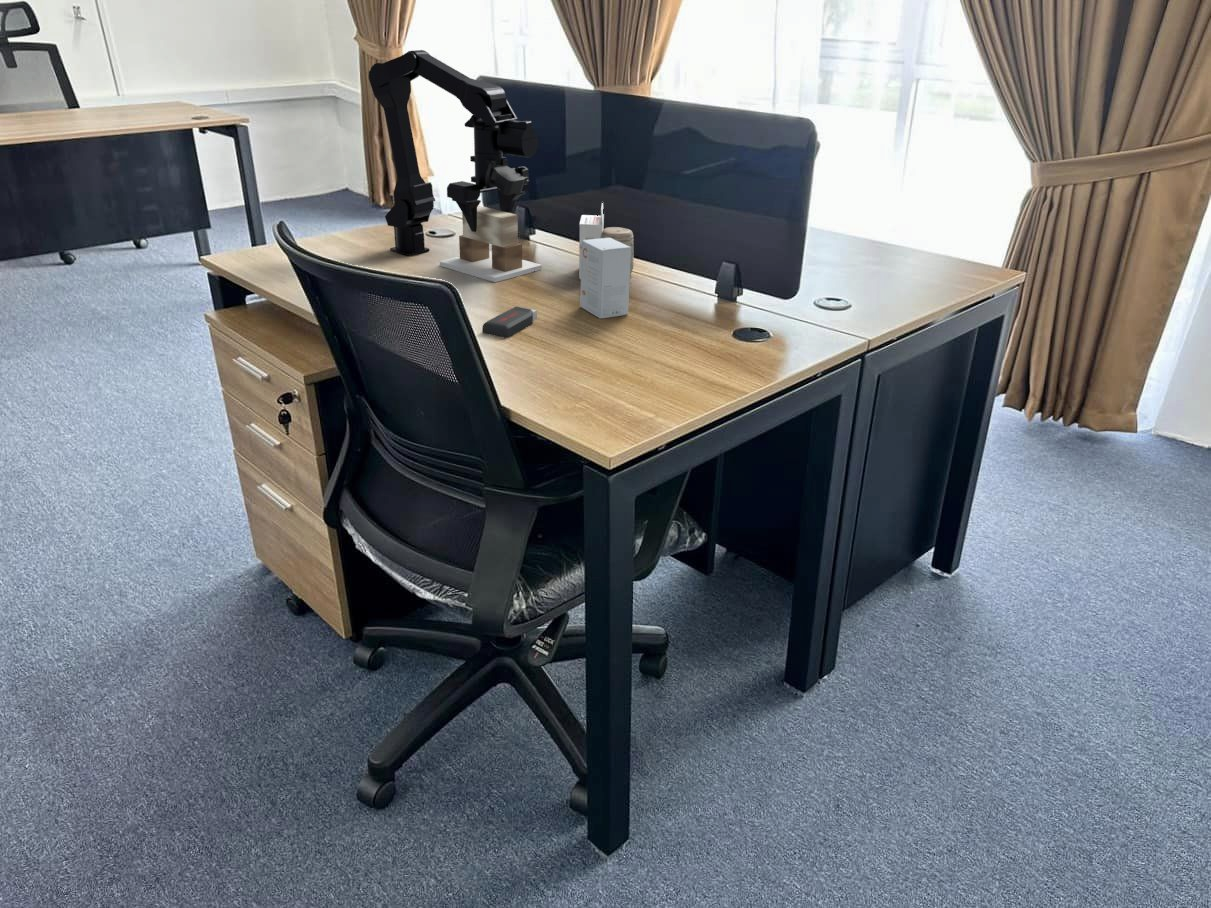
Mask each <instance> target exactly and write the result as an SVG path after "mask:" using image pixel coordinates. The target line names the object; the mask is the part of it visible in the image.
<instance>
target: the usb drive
mask: <svg viewBox="0 0 1211 908" xmlns="http://www.w3.org/2000/svg"><path fill="white" fill-rule="evenodd" d="M537 313H538V310H536V309H532V308H526V307H521V306H515V307H513V308H510V309H508V310H506V311H505V312H502V313H500V314H498V315H497V316H495V317H493V318H491V319H489V320H487V321H485V322H483V325H482V331H481V332H482V334H484V333H485V335H489V334H490V336H494V335H495V336H496V337H498V338H500V337H501V338H503V337H504V339H508V338H509V339H510V337H512V336H515V335H516V334H518V333H519V332H521V330H522V331H523V330H525V329H526V327H527V328H529V327H531V326H532V325H533V323H534V321H535V320H537V319H538V314H537ZM536 318H537V319H536ZM528 326H529V327H528ZM517 332H518V333H517Z"/></svg>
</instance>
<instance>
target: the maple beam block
mask: <svg viewBox="0 0 1211 908" xmlns="http://www.w3.org/2000/svg"><path fill="white" fill-rule="evenodd" d="M461 213H462V212H461ZM461 215H462V235H463V237H466V238H470V239H474V240H478V241H481V242H485V243H489V245H491V246H492V245H496V246H500V247H506V246H510V245H514V244H518V243H519V236H518V235H519V233H518V232H519V230H518V229H519V223H518V221H519V220H518V219H519V218H518V216H519V215H518V214H516V213H508V212H503V211H500V209H494V208H490V207H487V206H481V205H478V207H477V230H476V232H472V231H471V229H470V227H469V225H468V223H467V221H466V219H465V217H464V215H463V213H462V214H461Z"/></svg>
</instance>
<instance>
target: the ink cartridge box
mask: <svg viewBox="0 0 1211 908" xmlns="http://www.w3.org/2000/svg"><path fill="white" fill-rule="evenodd" d="M600 207H601V208H600V215H598V216H597V215H596V214H594V215H591V214H582V215H581V216H580V220H579V225H578V226H579V253H578V254H579V255H578V256H579V257H578V258H579V259H578V262H579V268H578V269H579V270H578V280H581V259H582V240H589V239H600V238H601V233H602V232H603V230H604V229H605V228H604V226H605V224H604V223H605V220H604V219H605V213H604V214H603V209H604V202H603V203H602V202H601V206H600Z"/></svg>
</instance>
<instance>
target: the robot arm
mask: <svg viewBox="0 0 1211 908" xmlns="http://www.w3.org/2000/svg"><path fill="white" fill-rule="evenodd" d="M419 77H422V78H423V79H425V80H426V81H428V82H430V83H432V84H434V85H435V86H437V87H439V89H440V88H441V89H442V90H443V91H445V92H447V93H449V94H451V95H452V96H454V97H455V98H457V99H458V100H459V101H460V104H461V105H462V107H463V108H464V109H465V110H467V111H468V112H469V113H470V114H471V117H470V118H469V119H468V120H467V121H466V122H465V123H464V127H466V128H473V145H474V146H473V147H474V148H473V150H474V153H473V154H474V155H471V156H469V157H470V158H469V159H470V162H472V163H474V176H470V182H467V181H464V180H463V181H462V180H461V181H455V182H450V183H449V184H448V185H447V186H446V197H447V198H449V199H451V200H452V201H453V202H455V203H456V204H457V206H458V208H459V209H460V211H461V213H463V215H464V217H465V219H466V221H467V223H468V225H469V227H470V229H471V231H472V232H476V230H477V207H478V206H480V204H481V202H482V200H481V199H479V198H480V197H481V194H483V193H488V192H494V191H497V199H498V205H499V211H503V212H508V213H512V212H513V209H514V207H515V204H516V203H517V200H518V199H519V198H521V197H522V196H523V195H525V194H526V191H529V190H530V175H529V168H527V167H526V166H518V167H517V168H515V167H512V168H511V167H509V160H508V157H506V156H503V154H504V155H508V156H514V157H515V156H517V157H521V158H522V157H524V158H532V157H533V156H534V155H535V154H536V152H537V150H538V145H539V137H538V136H537V132H536V131H535V128H533V125H532V123H533V122H532V121H531V120H523V121H522V120H518V117H517V115H516V114H515V112H514V110H513V108H512V107H511V105H510V103H509V101H508V99H507V95H506V91H505V90H504V89H503V88H502V87H501V86H499V85H497V84H494V83H490V82H488V81H482V80H478V79H474V78H471V77H469V76H468V75H465V74H463V72H460V71H458V70H457V69H455V68H453V67H452V66H450V65H448V64H446V63H445V62H443V61H441V60H439V59H438V58H436V57H434V56H432V55H431V54H430V53H429V52H428V51H426V50H424V49H419V50H408V51H407V52H405V53H404V54H403V53H402V55H399V56H398V57H395V58H392V59H390V60H387V61H384V62H376V63H374V64H373V65H372V66H371V67H370V70H369V71H368V80H369V84H370V87H371V90H372V92H373V96H374V98H375V99H376V100H377V102H378V103H379V105H380V106H381V107H382V109H383V112H384V118H385V121H386V126H387V131H388V137H389V141H390V148H391V152H392V153H391V154H392V158H393V163H394V164H393V165H394V169H395V173H396V181H395V185H394V190H393V206H392V207H391V208H390V209H389V210H388V212H387V213H386V214H385V216H384V217H385V222H386V224H387V226H388V227H393V230H394V231H393V232H394V247H390V248H389V251H392V252H394V253H397V254H401V255H404V256H413V255H418V254H421V253H425V252H429V251H430V248H429V247H426V246H425V233H424V225H423V224H422V223H427V222H429V220H430V216H431V213H432V211H433V210H434V207H435V205H434V202H435V201H436V198H435V196H434V193H433V184H432V182H426V181H425V180H424V178H423V177H422V176H421V174H420V168H419V162H418V158H417V152H416V146H415V141H414V136H413V129H412V125H411V119H410V114H409V109H408V103H409V101H410V96H411V94H412V82H411V81H415V80H416V79H417V78H419ZM512 214H513V213H512Z"/></svg>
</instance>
